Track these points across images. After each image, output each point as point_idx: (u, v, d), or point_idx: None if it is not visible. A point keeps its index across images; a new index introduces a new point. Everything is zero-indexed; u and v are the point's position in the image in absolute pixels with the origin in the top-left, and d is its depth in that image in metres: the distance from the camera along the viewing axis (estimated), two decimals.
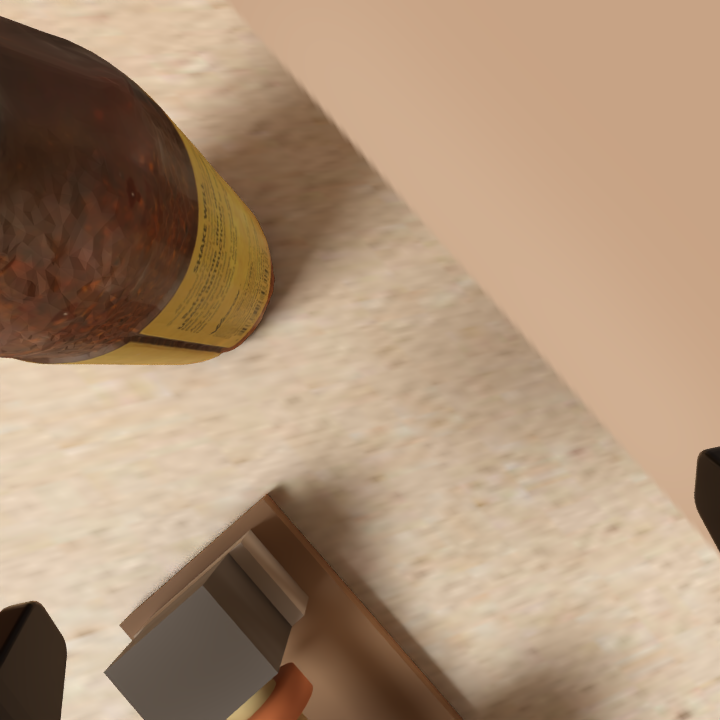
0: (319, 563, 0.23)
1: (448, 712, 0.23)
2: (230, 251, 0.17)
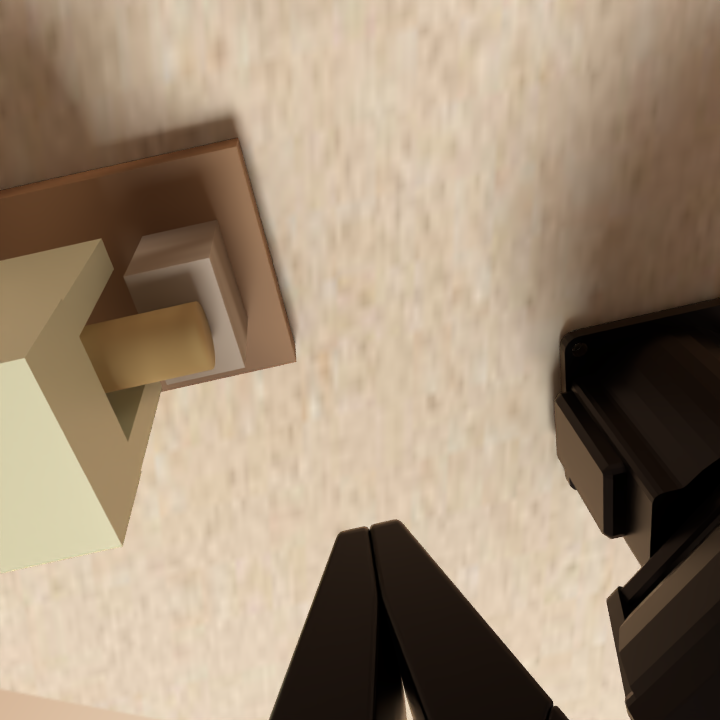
0: None
1: None
2: None
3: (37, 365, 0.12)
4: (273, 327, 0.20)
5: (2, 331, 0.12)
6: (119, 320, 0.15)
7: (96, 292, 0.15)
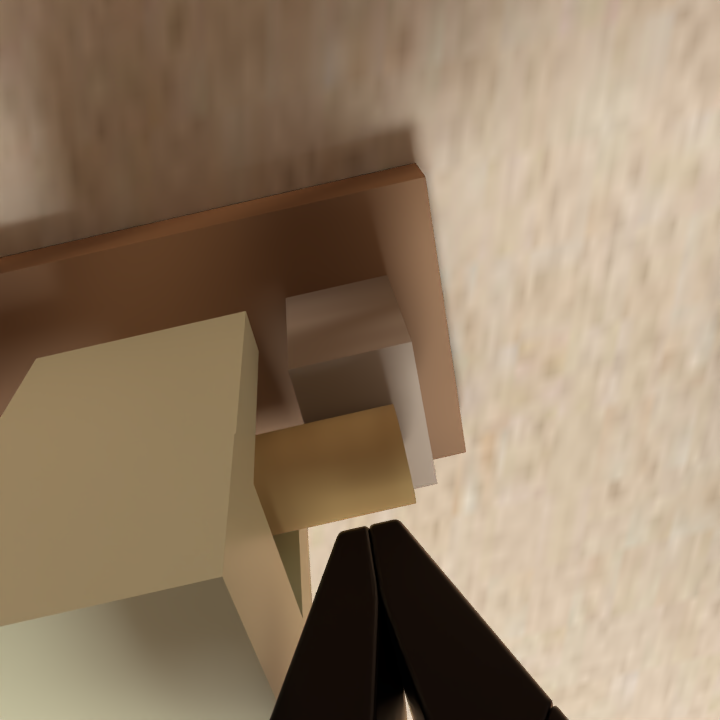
0: None
1: (14, 270, 0.12)
2: None
3: (234, 576, 0.07)
4: (442, 410, 0.15)
5: (157, 500, 0.07)
6: (287, 435, 0.10)
7: (253, 397, 0.10)
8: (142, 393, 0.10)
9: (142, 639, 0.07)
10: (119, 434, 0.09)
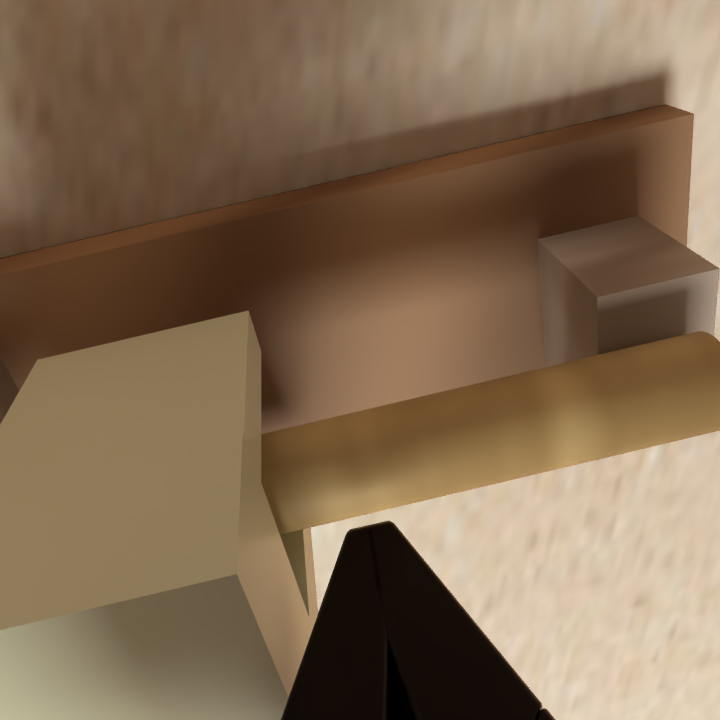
0: None
1: (284, 208, 0.12)
2: None
3: (246, 573, 0.07)
4: None
5: (166, 499, 0.07)
6: (605, 361, 0.11)
7: (258, 396, 0.10)
8: (147, 393, 0.10)
9: (155, 638, 0.07)
10: (125, 434, 0.09)
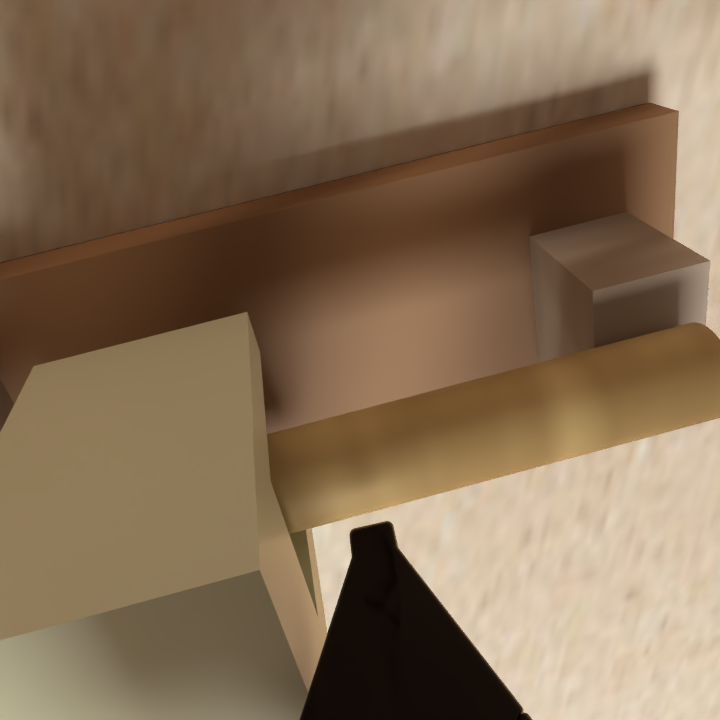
0: None
1: (279, 210, 0.12)
2: None
3: (267, 571, 0.07)
4: None
5: (180, 500, 0.07)
6: (603, 353, 0.11)
7: (261, 397, 0.10)
8: (150, 395, 0.10)
9: (177, 639, 0.07)
10: (132, 436, 0.09)
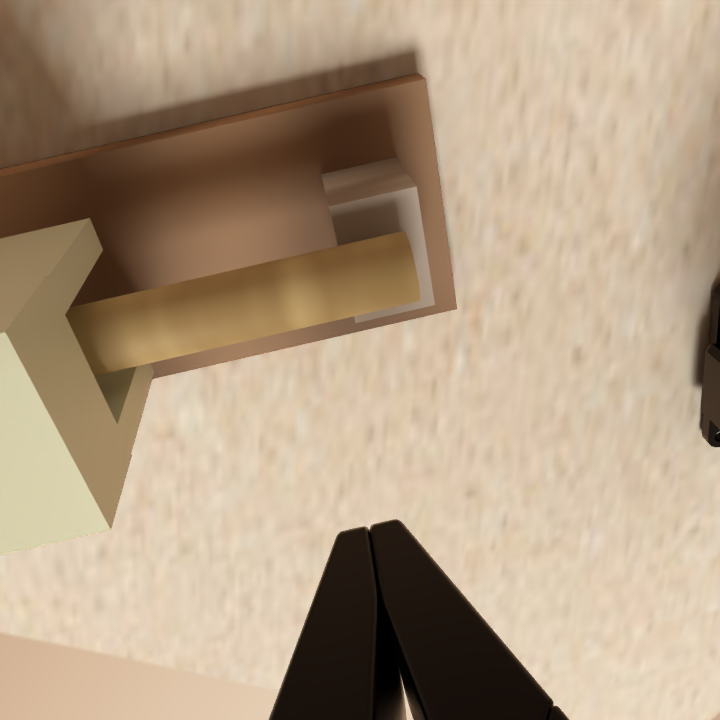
0: None
1: (123, 148, 0.17)
2: None
3: (19, 341, 0.11)
4: (439, 272, 0.19)
5: None
6: (329, 249, 0.15)
7: (84, 271, 0.15)
8: (0, 263, 0.14)
9: None
10: None
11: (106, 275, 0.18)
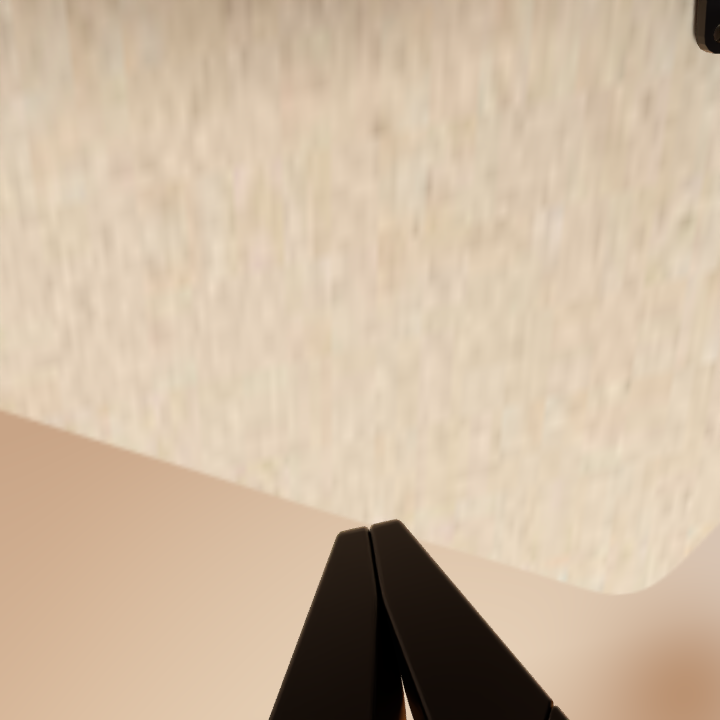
0: None
1: None
2: None
3: None
4: None
5: None
6: None
7: None
8: None
9: None
10: None
11: None
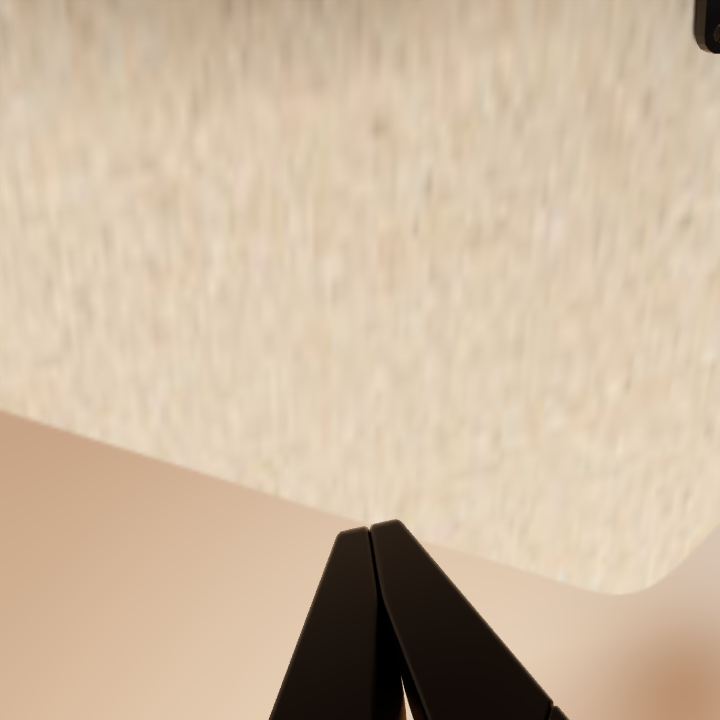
0: None
1: None
2: None
3: None
4: None
5: None
6: None
7: None
8: None
9: None
10: None
11: None
